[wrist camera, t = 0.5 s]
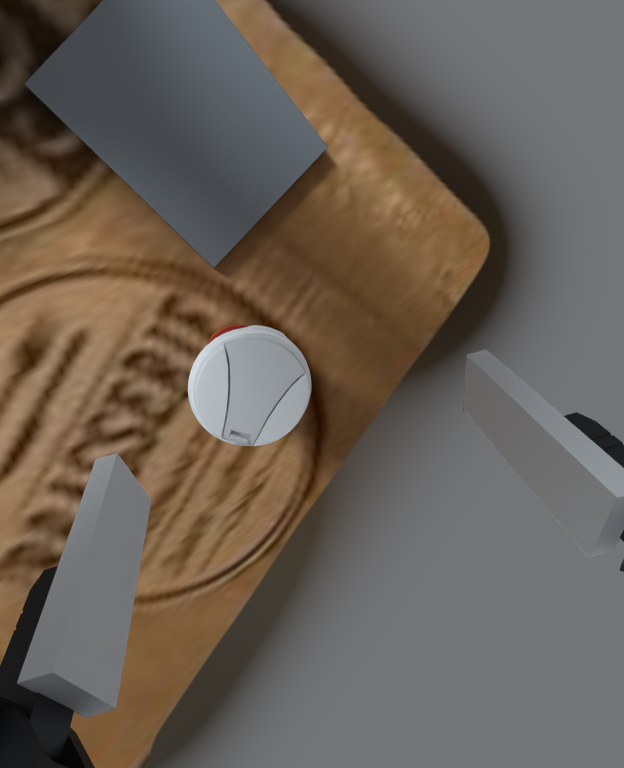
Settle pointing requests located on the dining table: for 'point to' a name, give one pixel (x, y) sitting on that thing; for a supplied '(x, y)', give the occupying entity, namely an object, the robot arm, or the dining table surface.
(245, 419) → the coffee cup
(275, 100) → the slate board
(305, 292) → the dining table surface
